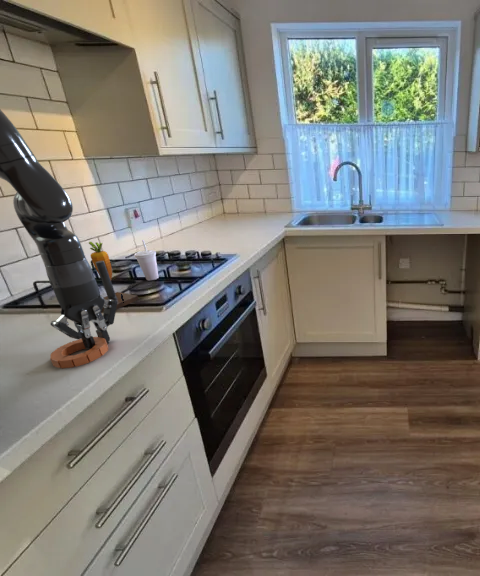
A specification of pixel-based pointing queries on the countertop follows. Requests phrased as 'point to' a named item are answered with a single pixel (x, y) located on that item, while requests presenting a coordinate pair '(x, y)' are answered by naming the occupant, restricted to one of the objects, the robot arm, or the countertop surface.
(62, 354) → the hang ring
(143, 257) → the smoothie
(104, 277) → the peg stand
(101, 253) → the carrot
